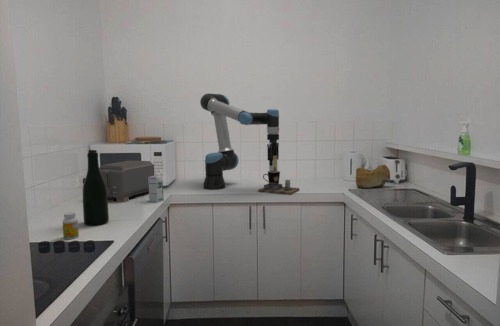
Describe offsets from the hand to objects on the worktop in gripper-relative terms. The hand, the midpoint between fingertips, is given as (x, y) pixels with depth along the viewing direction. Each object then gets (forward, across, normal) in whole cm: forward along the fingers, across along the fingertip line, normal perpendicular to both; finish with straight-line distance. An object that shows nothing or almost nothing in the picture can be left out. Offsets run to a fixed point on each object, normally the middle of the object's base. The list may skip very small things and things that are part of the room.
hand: (273, 170), depth 236 cm
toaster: (+14, -54, +74) cm, 92 cm away
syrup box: (+14, -56, +48) cm, 75 cm away
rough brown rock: (+14, +41, -54) cm, 69 cm away
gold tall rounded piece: (+1, 0, 0) cm, 1 cm away
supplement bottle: (+14, -122, +34) cm, 127 cm away
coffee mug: (+14, +16, +8) cm, 23 cm away
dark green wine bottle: (+14, -103, +42) cm, 112 cm away
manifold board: (+14, 0, -4) cm, 14 cm away
